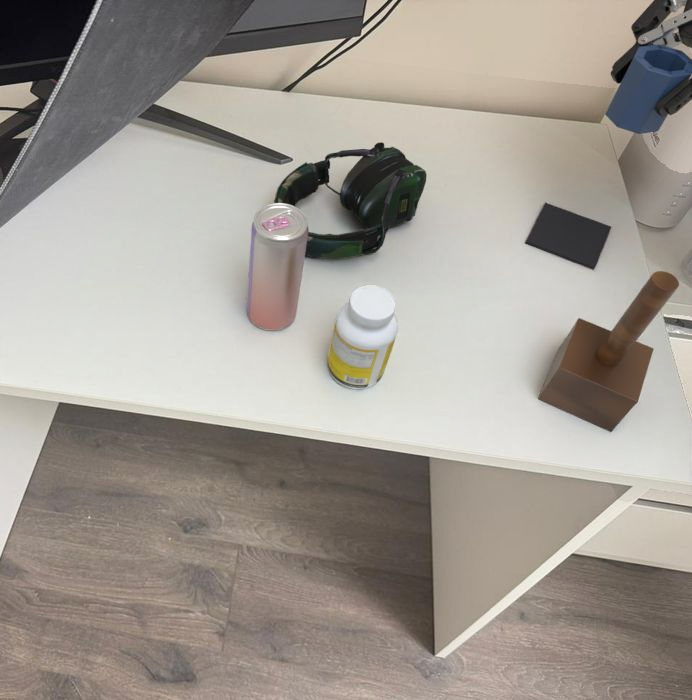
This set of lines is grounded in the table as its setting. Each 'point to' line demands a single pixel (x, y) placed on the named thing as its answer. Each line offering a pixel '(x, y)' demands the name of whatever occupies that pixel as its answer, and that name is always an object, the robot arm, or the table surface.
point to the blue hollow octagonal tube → (647, 87)
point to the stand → (607, 360)
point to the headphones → (360, 198)
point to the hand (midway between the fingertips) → (636, 94)
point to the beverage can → (276, 265)
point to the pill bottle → (363, 337)
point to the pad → (569, 235)
